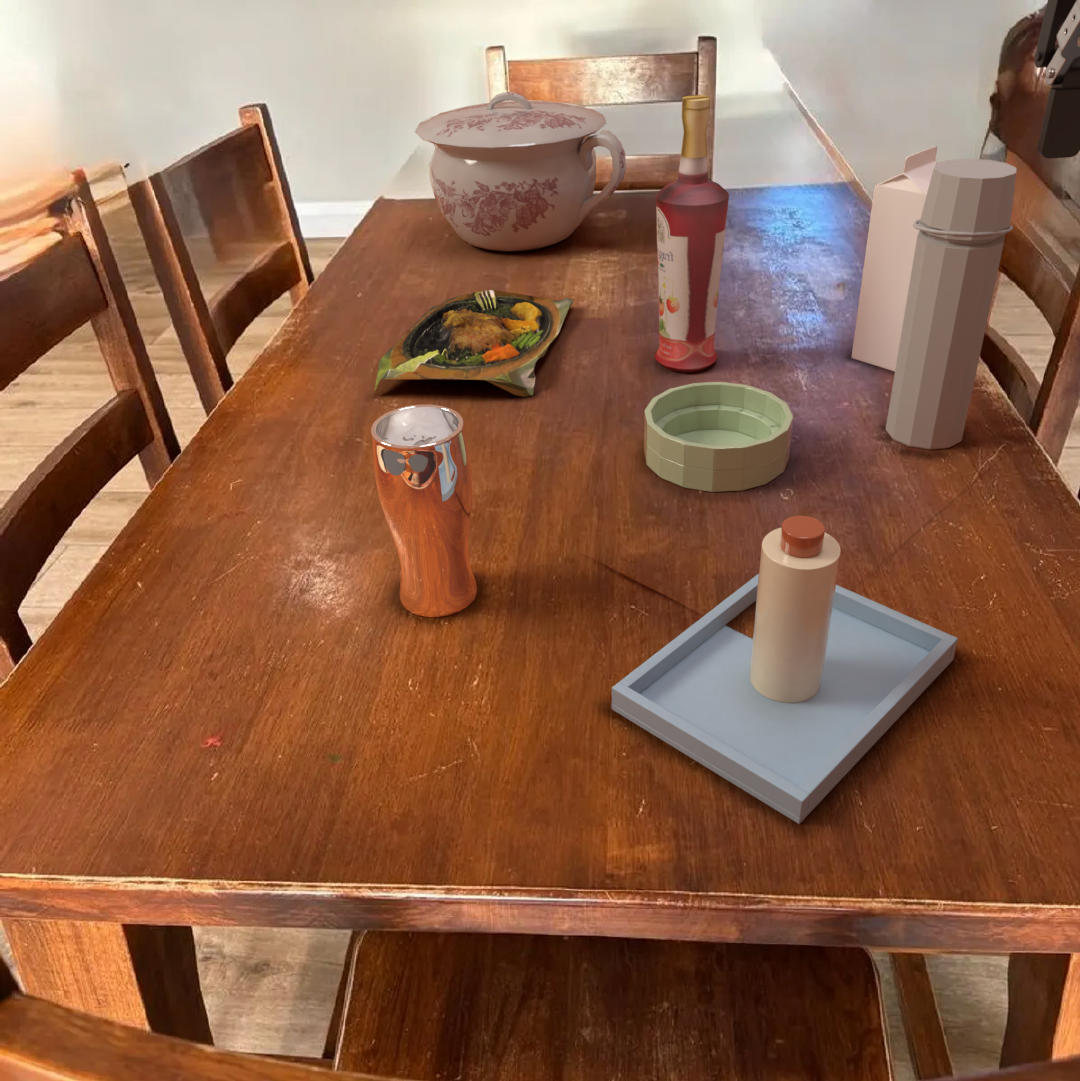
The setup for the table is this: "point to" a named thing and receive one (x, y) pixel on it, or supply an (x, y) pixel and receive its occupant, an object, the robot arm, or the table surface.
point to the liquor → (690, 250)
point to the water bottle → (949, 300)
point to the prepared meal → (478, 340)
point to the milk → (890, 260)
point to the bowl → (717, 436)
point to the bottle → (793, 609)
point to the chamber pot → (518, 170)
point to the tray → (777, 727)
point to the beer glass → (427, 505)
